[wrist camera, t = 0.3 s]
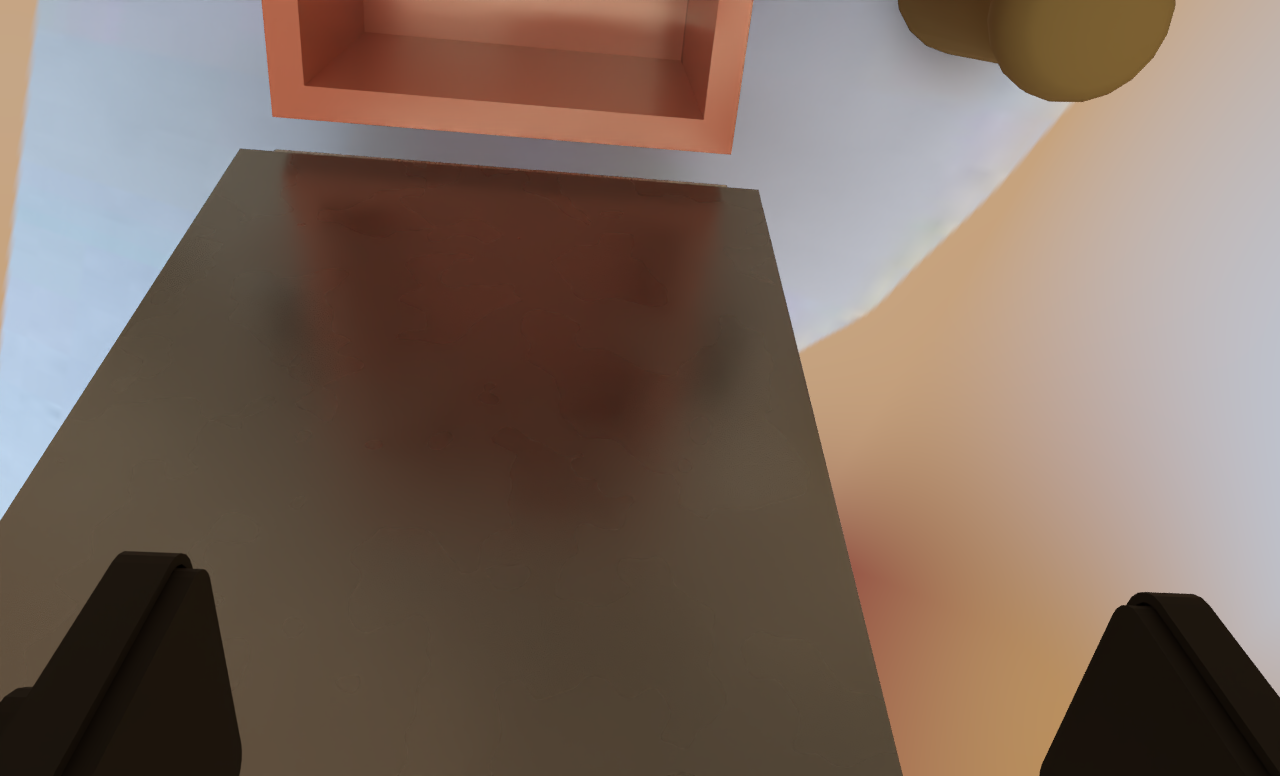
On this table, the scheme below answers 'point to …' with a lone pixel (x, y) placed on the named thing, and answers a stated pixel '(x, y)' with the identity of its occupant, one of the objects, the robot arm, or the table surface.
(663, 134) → the orange wooden open box
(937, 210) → the table surface
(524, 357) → the grey box lid
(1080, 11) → the cork
